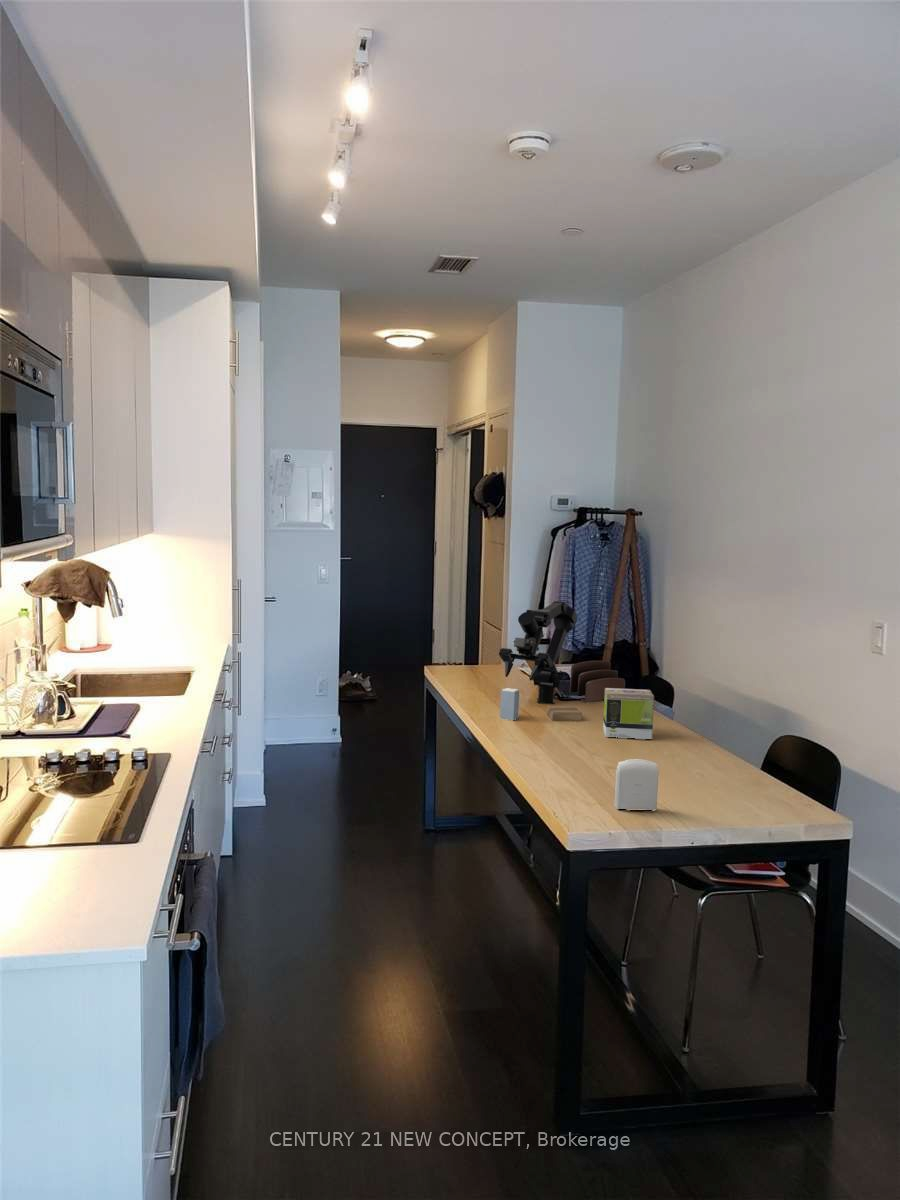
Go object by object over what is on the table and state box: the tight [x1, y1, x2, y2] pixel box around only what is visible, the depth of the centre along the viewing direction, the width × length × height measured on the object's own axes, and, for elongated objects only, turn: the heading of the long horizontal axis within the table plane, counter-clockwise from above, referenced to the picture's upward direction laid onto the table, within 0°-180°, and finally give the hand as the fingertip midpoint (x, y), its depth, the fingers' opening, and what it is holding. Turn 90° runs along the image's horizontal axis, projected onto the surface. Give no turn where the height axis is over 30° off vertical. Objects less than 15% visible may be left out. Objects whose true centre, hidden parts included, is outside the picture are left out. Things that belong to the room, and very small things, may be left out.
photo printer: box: [614, 758, 660, 810], centre depth 216 cm, size 10×4×12 cm, turn 88°
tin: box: [499, 687, 520, 721], centre depth 303 cm, size 4×5×10 cm
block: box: [545, 705, 583, 723], centre depth 308 cm, size 10×10×4 cm
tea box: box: [602, 688, 655, 740], centre depth 287 cm, size 15×10×15 cm, turn 84°
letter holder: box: [569, 660, 626, 703], centre depth 343 cm, size 10×20×14 cm, turn 121°
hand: (518, 678), depth 309 cm, fingers open, 9 cm apart
